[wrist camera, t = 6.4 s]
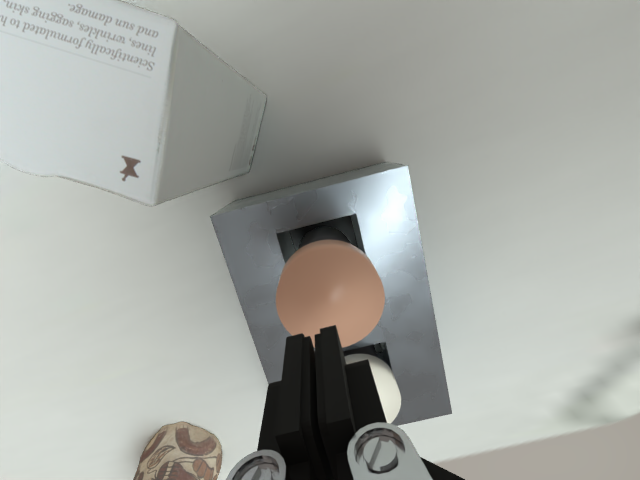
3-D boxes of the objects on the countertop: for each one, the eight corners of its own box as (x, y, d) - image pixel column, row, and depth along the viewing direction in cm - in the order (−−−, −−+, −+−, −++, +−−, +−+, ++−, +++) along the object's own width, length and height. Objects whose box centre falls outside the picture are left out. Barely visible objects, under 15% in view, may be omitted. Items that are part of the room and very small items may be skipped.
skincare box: (268, 95, 23) (198, 9, 9) (249, 177, 25) (162, 214, 11) (150, 58, 23) (-129, -101, 8) (137, 145, 24) (-118, 136, 10)
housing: (385, 161, 25) (407, 165, 19) (424, 361, 29) (452, 413, 24) (233, 201, 25) (210, 216, 20) (295, 391, 30) (291, 448, 24)
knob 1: (352, 207, 22) (372, 237, 14) (368, 276, 23) (393, 335, 16) (279, 226, 22) (262, 264, 15) (299, 293, 23) (292, 359, 16)
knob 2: (371, 304, 27) (392, 361, 20) (383, 355, 29) (407, 426, 21) (313, 318, 28) (313, 379, 20) (327, 368, 29) (332, 442, 22)
